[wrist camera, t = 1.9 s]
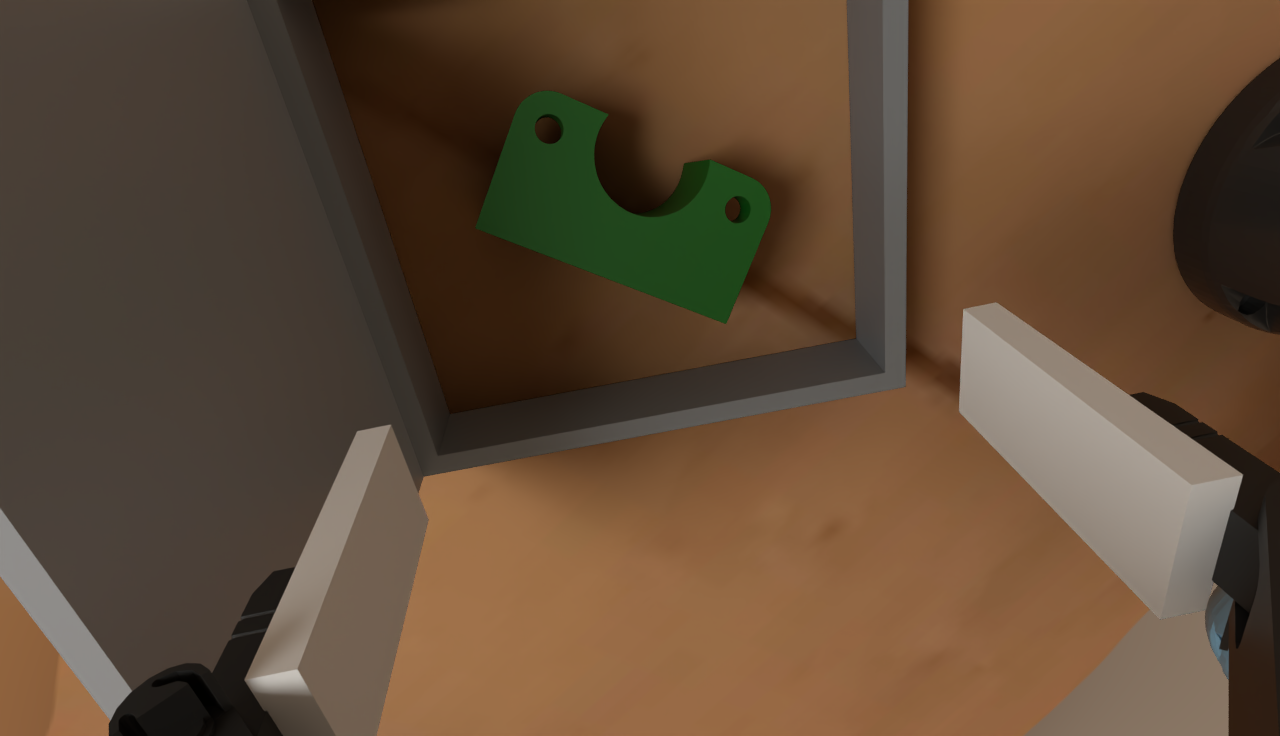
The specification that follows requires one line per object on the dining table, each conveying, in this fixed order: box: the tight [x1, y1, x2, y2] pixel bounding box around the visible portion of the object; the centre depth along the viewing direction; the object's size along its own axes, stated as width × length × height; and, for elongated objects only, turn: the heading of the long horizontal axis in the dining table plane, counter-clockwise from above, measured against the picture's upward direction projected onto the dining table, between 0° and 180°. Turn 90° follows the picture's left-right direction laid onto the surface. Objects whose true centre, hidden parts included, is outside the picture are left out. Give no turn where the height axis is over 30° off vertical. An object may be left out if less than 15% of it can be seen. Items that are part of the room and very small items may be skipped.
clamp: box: [475, 91, 771, 324], centre depth 32 cm, size 12×6×9 cm, turn 60°
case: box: [0, 0, 908, 721], centre depth 24 cm, size 25×22×23 cm
